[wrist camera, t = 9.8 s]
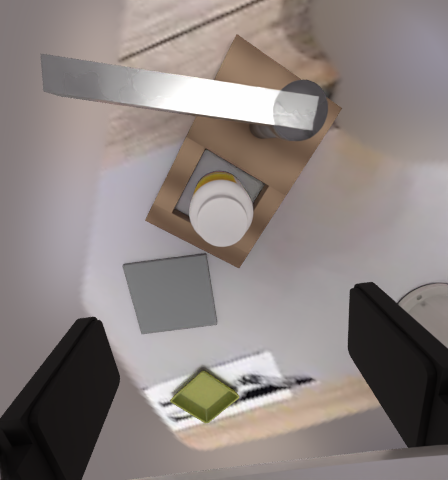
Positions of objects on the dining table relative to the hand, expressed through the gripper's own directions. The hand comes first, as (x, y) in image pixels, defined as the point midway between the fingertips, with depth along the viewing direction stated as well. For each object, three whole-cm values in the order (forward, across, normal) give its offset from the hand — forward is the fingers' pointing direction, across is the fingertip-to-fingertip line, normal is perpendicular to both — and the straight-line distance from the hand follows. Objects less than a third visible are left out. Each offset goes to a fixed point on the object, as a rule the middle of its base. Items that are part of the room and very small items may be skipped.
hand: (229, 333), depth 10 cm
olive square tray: (+29, +7, +34) cm, 45 cm away
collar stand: (+28, -3, -3) cm, 28 cm away
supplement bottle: (+28, 0, 0) cm, 28 cm away
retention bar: (+13, +1, -10) cm, 16 cm away
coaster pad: (+28, +9, +14) cm, 33 cm away
